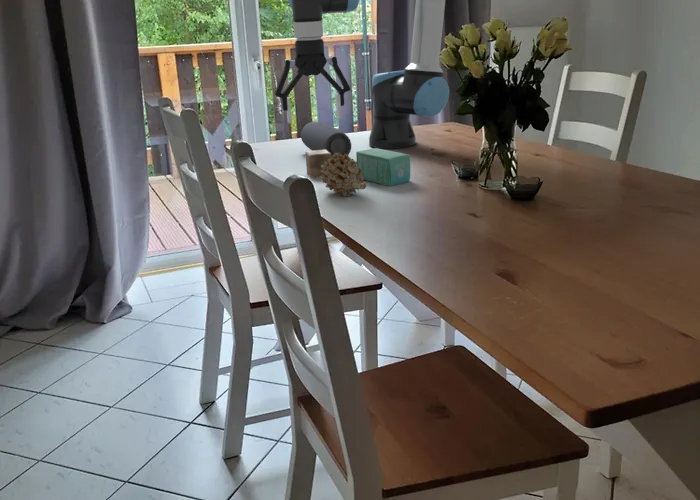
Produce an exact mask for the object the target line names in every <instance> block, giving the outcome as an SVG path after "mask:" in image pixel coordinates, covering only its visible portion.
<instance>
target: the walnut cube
mask: <svg viewBox="0 0 700 500" xmlns="http://www.w3.org/2000/svg"><path fill="white" fill-rule="evenodd" d="M328 159H331V154H330V153H329V152H328V151H327V150H325V149H324V150H314V151H312V150H307V151H305V163H306V166H305V167H306V173H307V175H308V174H309V175H308V176H309V177H310V178H318V177H319V178H321V177H320V176H321V175H322V172H321V170H322V167H321V165H325V161H326V162H328V161H327V160H328Z"/></svg>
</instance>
